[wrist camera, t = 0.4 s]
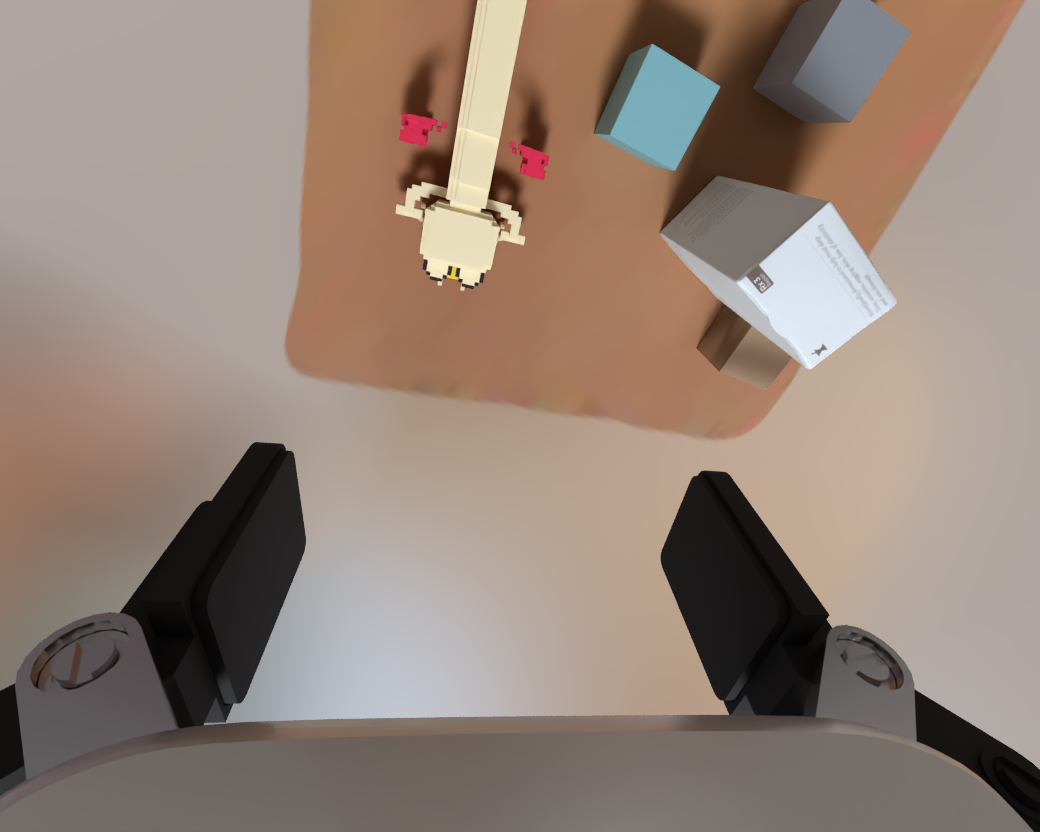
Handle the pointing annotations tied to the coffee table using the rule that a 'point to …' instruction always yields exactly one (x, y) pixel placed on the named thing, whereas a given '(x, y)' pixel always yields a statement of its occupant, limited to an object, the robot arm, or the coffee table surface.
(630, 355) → the coffee table surface
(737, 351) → the walnut block
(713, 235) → the skincare box
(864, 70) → the charcoal block
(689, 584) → the robot arm
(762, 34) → the coffee table surface
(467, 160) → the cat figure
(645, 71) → the teal block
